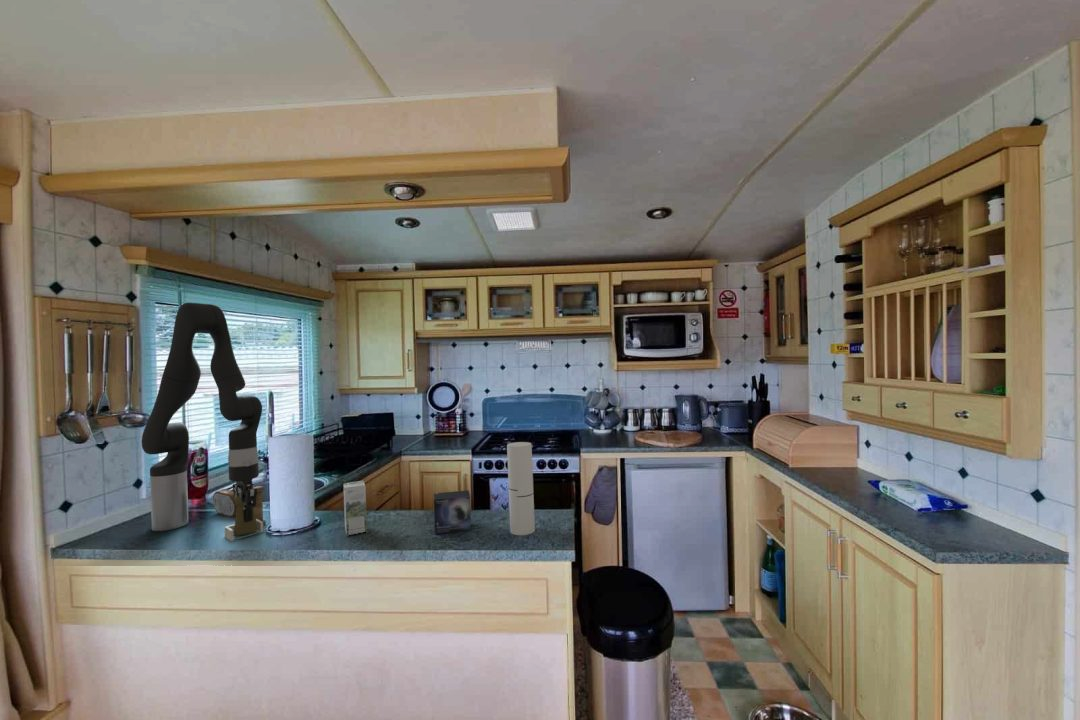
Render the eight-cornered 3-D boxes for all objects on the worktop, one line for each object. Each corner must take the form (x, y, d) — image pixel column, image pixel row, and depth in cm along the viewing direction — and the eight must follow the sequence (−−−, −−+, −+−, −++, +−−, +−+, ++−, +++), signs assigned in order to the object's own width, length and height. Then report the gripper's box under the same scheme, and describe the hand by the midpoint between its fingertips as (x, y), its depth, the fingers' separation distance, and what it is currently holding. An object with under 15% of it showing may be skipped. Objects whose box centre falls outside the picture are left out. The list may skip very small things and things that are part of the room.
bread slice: (244, 516, 154) (243, 491, 154) (234, 519, 151) (233, 494, 151) (221, 510, 161) (220, 487, 161) (211, 513, 158) (210, 489, 158)
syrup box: (364, 526, 139) (363, 479, 139) (367, 533, 134) (365, 484, 134) (344, 530, 136) (343, 482, 136) (346, 537, 131) (344, 487, 131)
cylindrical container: (517, 524, 135) (514, 441, 136) (539, 527, 132) (535, 442, 132) (505, 533, 129) (502, 445, 129) (527, 536, 126) (524, 447, 126)
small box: (434, 535, 129) (433, 499, 130) (434, 527, 136) (433, 493, 136) (471, 531, 132) (470, 495, 132) (469, 523, 138) (468, 489, 138)
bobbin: (249, 526, 144) (247, 488, 144) (263, 522, 147) (261, 485, 147) (253, 528, 141) (252, 490, 141) (267, 524, 144) (266, 487, 144)
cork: (246, 534, 132) (244, 497, 132) (228, 534, 133) (227, 496, 133) (262, 527, 138) (261, 491, 138) (245, 526, 139) (244, 490, 139)
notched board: (224, 536, 135) (224, 526, 135) (256, 528, 141) (256, 518, 141) (230, 541, 131) (230, 530, 131) (263, 531, 138) (263, 522, 138)
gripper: (221, 462, 137) (223, 519, 137) (237, 468, 128) (239, 528, 128) (249, 457, 143) (251, 512, 143) (266, 463, 134) (268, 521, 134)
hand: (245, 519), depth 135 cm, fingers closed on cork, 4 cm apart
